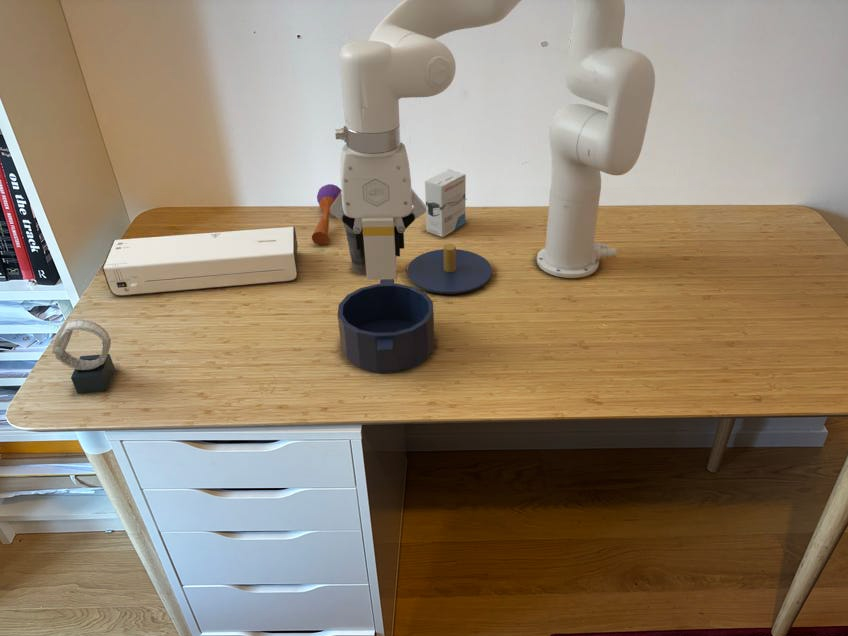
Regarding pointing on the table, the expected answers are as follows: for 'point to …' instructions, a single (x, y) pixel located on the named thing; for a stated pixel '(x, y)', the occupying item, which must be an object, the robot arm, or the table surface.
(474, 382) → the table surface
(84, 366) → the watch
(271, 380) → the table surface
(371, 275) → the packet
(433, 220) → the ink box
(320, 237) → the kendama
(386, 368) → the tin
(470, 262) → the tin lid
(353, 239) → the beverage cup
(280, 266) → the laminator
